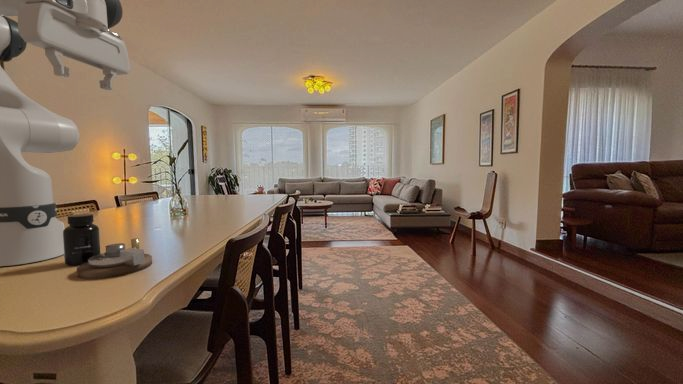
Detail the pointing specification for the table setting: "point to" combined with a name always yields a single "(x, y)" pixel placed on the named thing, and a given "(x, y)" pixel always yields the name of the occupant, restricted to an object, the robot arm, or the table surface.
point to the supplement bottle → (80, 239)
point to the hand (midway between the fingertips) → (85, 83)
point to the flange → (117, 256)
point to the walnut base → (113, 267)
